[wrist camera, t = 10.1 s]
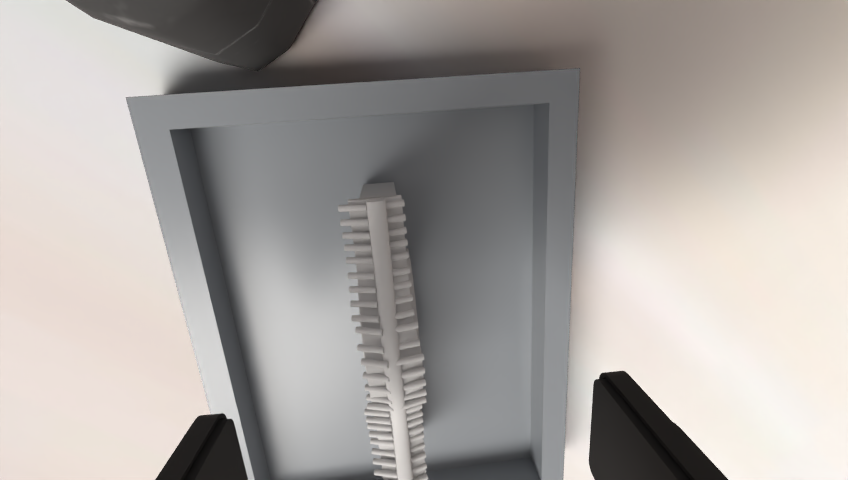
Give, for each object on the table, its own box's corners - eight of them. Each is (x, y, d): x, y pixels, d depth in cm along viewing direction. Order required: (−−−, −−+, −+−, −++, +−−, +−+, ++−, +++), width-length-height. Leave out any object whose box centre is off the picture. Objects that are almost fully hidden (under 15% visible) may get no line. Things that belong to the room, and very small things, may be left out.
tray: (554, 74, 15) (580, 68, 13) (545, 460, 20) (562, 496, 18) (161, 100, 14) (125, 97, 12) (258, 501, 19) (245, 543, 17)
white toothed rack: (423, 437, 18) (442, 578, 13) (383, 442, 18) (384, 588, 13) (400, 171, 15) (412, 203, 9) (351, 175, 15) (332, 210, 9)
